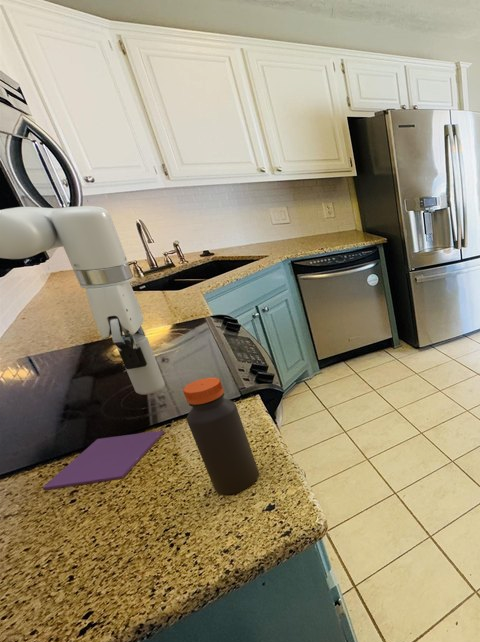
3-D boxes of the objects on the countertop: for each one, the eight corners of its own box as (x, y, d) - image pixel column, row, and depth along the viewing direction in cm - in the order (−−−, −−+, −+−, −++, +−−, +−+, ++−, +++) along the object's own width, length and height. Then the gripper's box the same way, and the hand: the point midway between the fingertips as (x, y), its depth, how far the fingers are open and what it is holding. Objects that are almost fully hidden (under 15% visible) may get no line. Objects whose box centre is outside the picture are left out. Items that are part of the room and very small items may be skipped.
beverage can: (130, 394, 84) (107, 341, 80) (154, 383, 89) (134, 332, 84) (148, 397, 83) (126, 343, 79) (171, 385, 88) (152, 334, 83)
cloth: (43, 490, 72) (42, 487, 71) (98, 441, 84) (97, 438, 84) (122, 478, 74) (121, 476, 74) (164, 432, 86) (163, 430, 86)
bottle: (214, 502, 68) (173, 400, 60) (215, 478, 74) (176, 382, 66) (260, 485, 72) (227, 387, 64) (258, 463, 77) (226, 370, 69)
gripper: (92, 268, 81) (126, 350, 88) (61, 289, 68) (104, 384, 75) (140, 264, 85) (169, 343, 92) (120, 283, 71) (155, 374, 79)
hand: (139, 361), depth 83 cm, fingers closed on beverage can, 4 cm apart
